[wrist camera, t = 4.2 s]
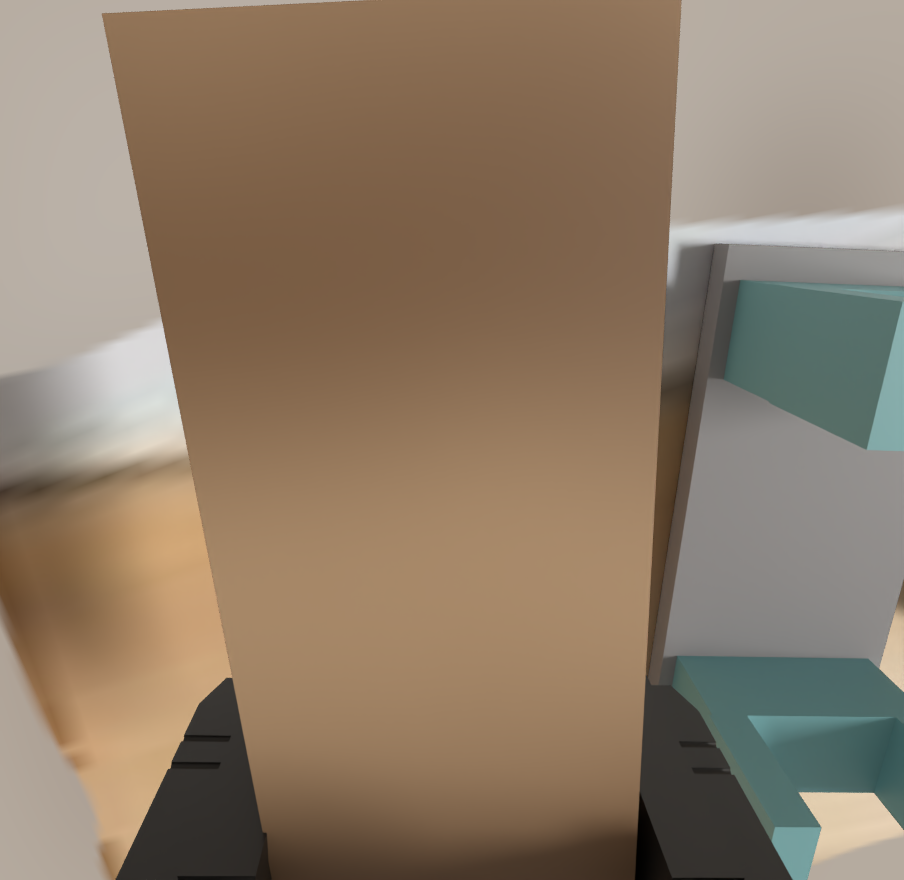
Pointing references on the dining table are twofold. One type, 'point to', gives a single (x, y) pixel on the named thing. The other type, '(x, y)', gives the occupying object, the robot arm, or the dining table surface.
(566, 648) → the rail
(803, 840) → the bracket stand
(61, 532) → the dining table surface
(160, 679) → the dining table surface
